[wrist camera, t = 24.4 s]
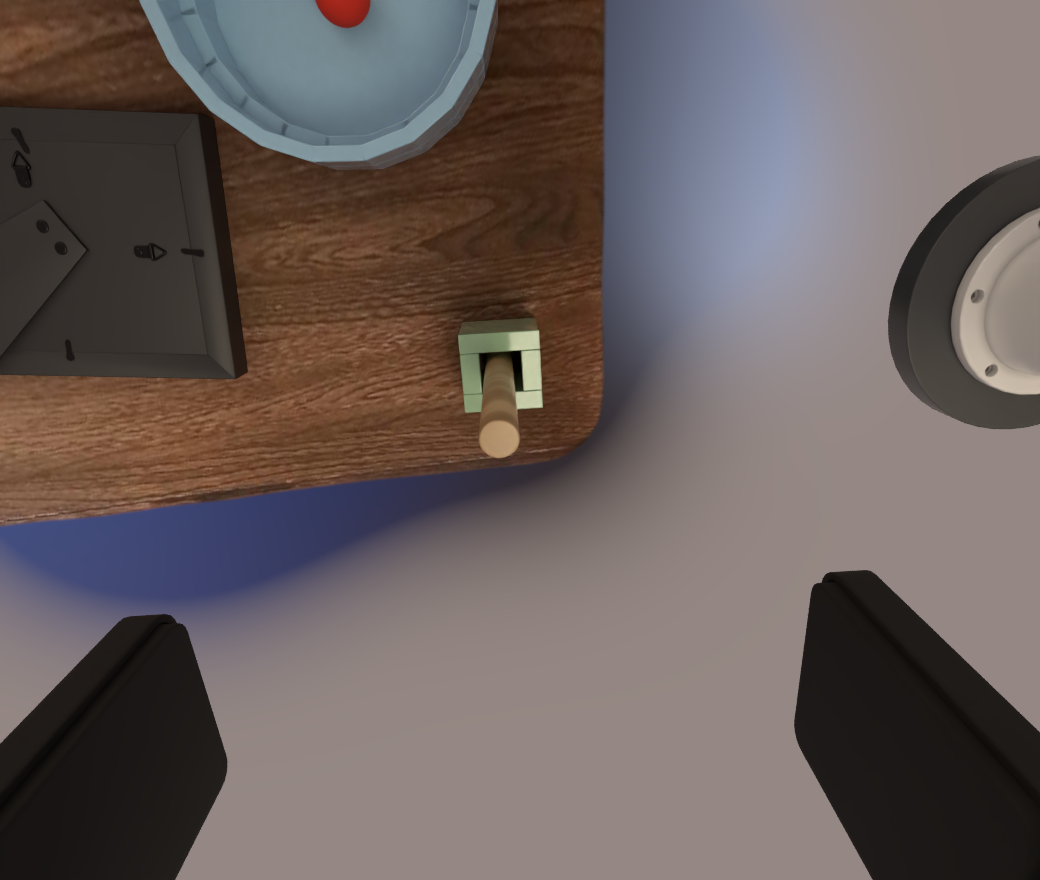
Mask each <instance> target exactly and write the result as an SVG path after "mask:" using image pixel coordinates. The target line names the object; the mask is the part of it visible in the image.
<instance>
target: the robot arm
mask: <svg viewBox="0 0 1040 880" xmlns="http://www.w3.org/2000/svg"><path fill="white" fill-rule="evenodd" d="M951 333H952V342H953V345H954V348H955V351H956V354H957V357H958V359H959V360H960V362H961V363H962V365H963V367H964V368H965V369H966V370H967V371H968V372H969V373H970V374H971V375H972V376H973V377H974V378H975V379H976V380H978V381H980V382H982V383H983V384H985V385H987V386H989V387H992V388H995V389H998V390H1001V391H1004V392H1008V393H1014V394H1019V395H1024V394H1040V208H1038V209H1036V210H1033V211H1031V212H1028V213H1026V214H1024V215H1023V216H1021V217H1019V218H1018V219H1016V220H1015V221H1013V222H1011V223H1010V224H1008V225H1007V226H1006V227H1004V228H1003V229H1002V230H1001V231H1000V232H998V233H997V234H996V235H995V236H994V237H992V238H991V240H990V241H989V242H988V243H987V244H986V245H985V246H984V247H983V248H982V250H981V251H980V252H979V253H978V254H977V256H976V257H975V259H974V260H973V262H972V263H971V265H970V266H969V268H968V269H967V271H966V273H965V275H964V277H963V279H962V281H961V283H960V285H959V288H958V290H957V293H956V297H955V300H954V304H953V308H952V317H951ZM794 726H795V734H796V738H797V741H798V744H799V747H800V749H801V751H802V753H803V755H804V756H805V758H806V760H807V762H808V763H809V765H810V767H811V769H812V771H813V772H814V774H815V776H816V778H817V780H818V782H819V783H820V785H821V787H822V789H823V791H824V792H825V794H826V796H827V798H828V800H829V802H830V803H831V805H832V807H833V809H834V810H835V812H836V814H837V816H838V818H839V820H840V821H841V823H842V825H843V827H844V828H845V830H846V832H847V834H848V836H849V838H850V839H851V841H852V843H853V845H854V847H855V849H856V850H857V852H858V854H859V856H860V858H861V859H862V861H863V863H864V865H865V867H866V868H867V870H868V872H869V874H870V876H871V878H872V879H873V880H1040V732H1039V731H1038V730H1037V729H1036V728H1035V727H1034V726H1033V725H1031V724H1030V722H1028V721H1027V720H1026V719H1025V718H1024V717H1023V716H1022V715H1021V714H1020V713H1019V712H1018V711H1017V710H1016V709H1015V708H1014V707H1013V706H1012V705H1011V704H1010V703H1009V702H1008V701H1007V700H1006V699H1005V698H1004V697H1003V696H1001V695H1000V694H999V693H998V692H997V691H996V690H995V689H994V688H993V687H992V686H991V685H990V684H989V683H988V682H987V681H986V680H985V679H984V678H983V677H982V676H981V675H980V674H978V673H977V671H976V670H974V669H973V668H972V667H971V666H970V665H969V664H968V663H967V662H966V661H965V660H964V659H963V658H962V657H961V656H960V655H959V654H958V653H957V652H956V651H955V650H954V649H953V648H951V646H949V645H948V644H947V643H946V642H945V641H944V640H943V639H942V638H941V637H940V636H939V635H938V634H937V633H936V632H935V631H934V630H933V629H932V628H931V627H930V626H929V625H928V624H927V623H926V622H925V621H924V620H923V619H921V618H920V617H919V616H918V615H917V614H916V613H915V612H914V611H913V610H912V609H911V608H910V607H909V606H908V605H907V604H906V603H905V602H904V601H903V600H902V599H901V598H900V597H899V596H898V595H897V594H895V593H894V592H893V591H892V590H891V589H890V588H889V587H888V586H887V585H886V584H885V583H884V582H883V581H882V580H881V579H880V578H879V577H878V576H877V575H875V574H874V573H873V572H871V571H868V570H861V571H844V572H830V573H827V574H826V575H825V576H824V578H823V580H822V583H817V584H815V585H814V586H813V588H812V592H811V598H810V605H809V613H808V621H807V628H806V636H805V644H804V652H803V659H802V667H801V674H800V682H799V690H798V698H797V706H796V713H795V720H794ZM226 773H227V757H226V753H225V750H224V747H223V743H222V740H221V737H220V734H219V731H218V727H217V724H216V721H215V718H214V715H213V711H212V708H211V705H210V702H209V699H208V695H207V692H206V689H205V686H204V682H203V680H202V677H201V673H200V670H199V667H198V663H197V660H196V657H195V654H194V651H193V647H192V644H191V641H190V638H189V634H188V632H187V630H186V627H185V626H184V625H183V624H179V623H176V621H175V619H174V618H173V617H172V616H171V615H166V614H162V615H145V616H131V617H126V618H123V619H122V620H121V621H119V622H118V623H117V624H116V625H115V626H114V627H113V628H112V630H110V631H109V632H108V633H107V634H106V636H105V637H104V638H103V639H102V640H101V641H100V642H99V643H98V644H97V645H96V646H95V647H94V648H93V649H92V650H91V651H90V652H89V653H88V654H87V655H86V656H85V657H84V658H83V659H82V660H81V661H80V662H79V663H78V664H77V666H75V667H74V669H73V670H72V671H71V672H70V673H69V674H68V675H67V676H66V677H65V678H64V679H63V680H62V681H61V682H60V683H59V684H58V685H57V686H56V687H55V688H54V689H53V690H52V691H51V692H50V693H49V694H48V695H47V696H46V697H45V698H44V699H43V700H42V701H41V702H40V703H39V704H38V706H37V707H36V708H35V709H34V710H33V711H32V712H31V713H30V714H29V715H28V716H27V717H26V718H25V719H24V720H23V721H22V722H21V723H20V724H19V725H18V726H17V727H16V728H15V729H14V730H13V731H12V732H11V733H10V734H9V735H8V736H7V737H6V739H5V740H4V741H3V742H2V743H1V744H0V880H175V879H176V877H177V875H178V873H179V871H180V869H181V867H182V865H183V863H184V861H185V859H186V857H187V855H188V853H189V851H190V849H191V847H192V845H193V843H194V841H195V839H196V837H197V835H198V833H199V831H200V829H201V827H202V825H203V823H204V821H205V819H206V818H207V815H208V813H209V811H210V809H211V808H212V806H213V804H214V802H215V800H216V798H217V796H218V794H219V792H220V790H221V788H222V786H223V783H224V781H225V777H226Z"/></svg>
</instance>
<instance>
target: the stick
mask: <svg viewBox="0 0 1040 880" xmlns="http://www.w3.org/2000/svg"><path fill="white" fill-rule="evenodd" d="M519 442H520V435H519V424H518V414H517V404H516V394H515V384H514V373H513V363H512V354H511V351H505V352H489V353H487V354H486V363H485V374H484V385H483V396H482V407H481V418H480V429H479V444H480V447H481V448H482V450H483V451H484V452H485V453H486V454H488V455H489V456H492V457H495V458H504V457H507V456H509V455H511V454H512V453H514V452H515V450H516V449H517V448H518V445H519Z"/></svg>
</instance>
